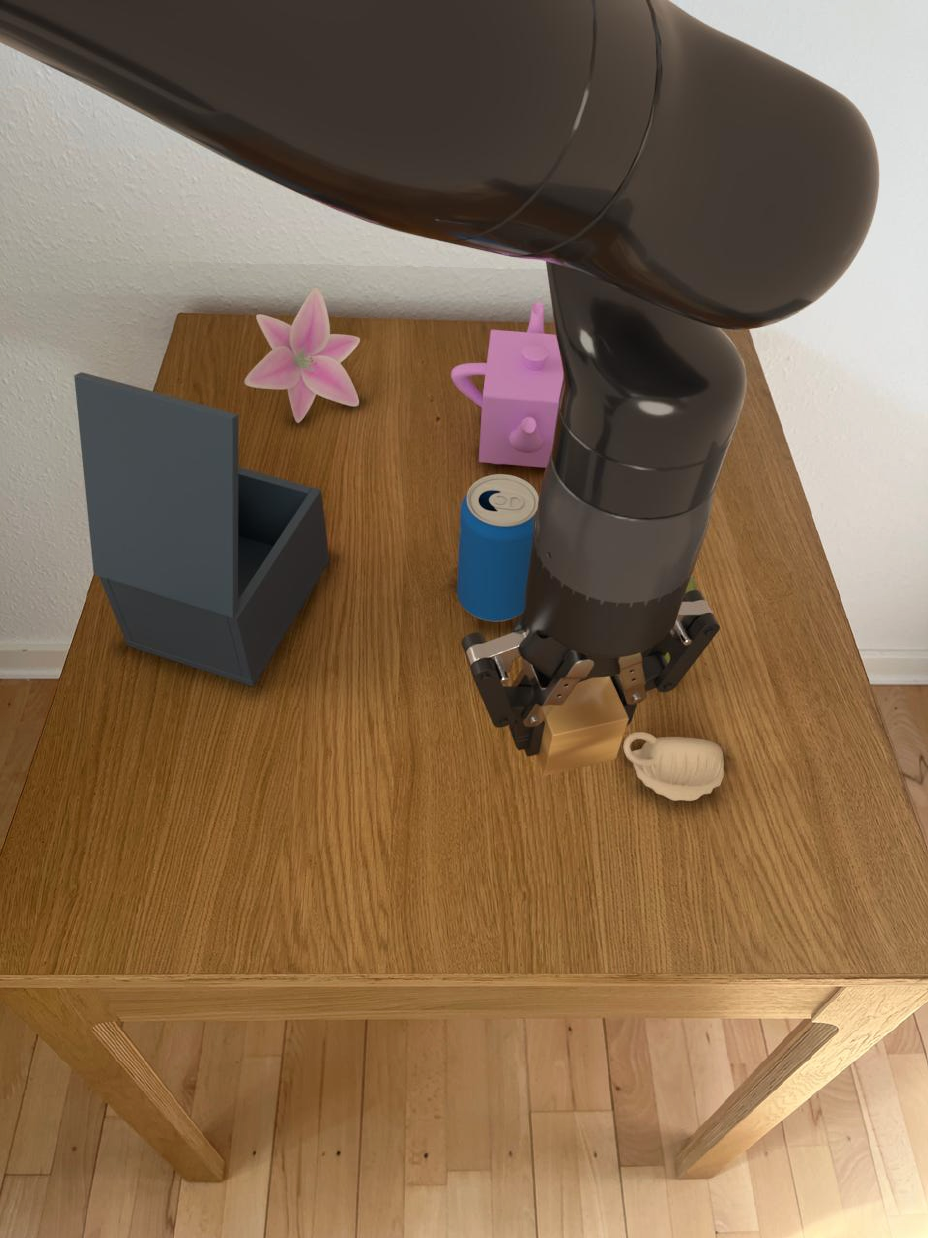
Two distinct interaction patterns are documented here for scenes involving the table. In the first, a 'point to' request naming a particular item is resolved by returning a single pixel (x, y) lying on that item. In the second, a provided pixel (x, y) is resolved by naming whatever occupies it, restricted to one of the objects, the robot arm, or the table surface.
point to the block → (583, 728)
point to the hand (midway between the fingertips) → (568, 732)
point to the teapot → (517, 394)
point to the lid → (161, 492)
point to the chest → (239, 586)
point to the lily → (305, 358)
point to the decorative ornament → (677, 765)
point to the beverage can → (495, 546)
